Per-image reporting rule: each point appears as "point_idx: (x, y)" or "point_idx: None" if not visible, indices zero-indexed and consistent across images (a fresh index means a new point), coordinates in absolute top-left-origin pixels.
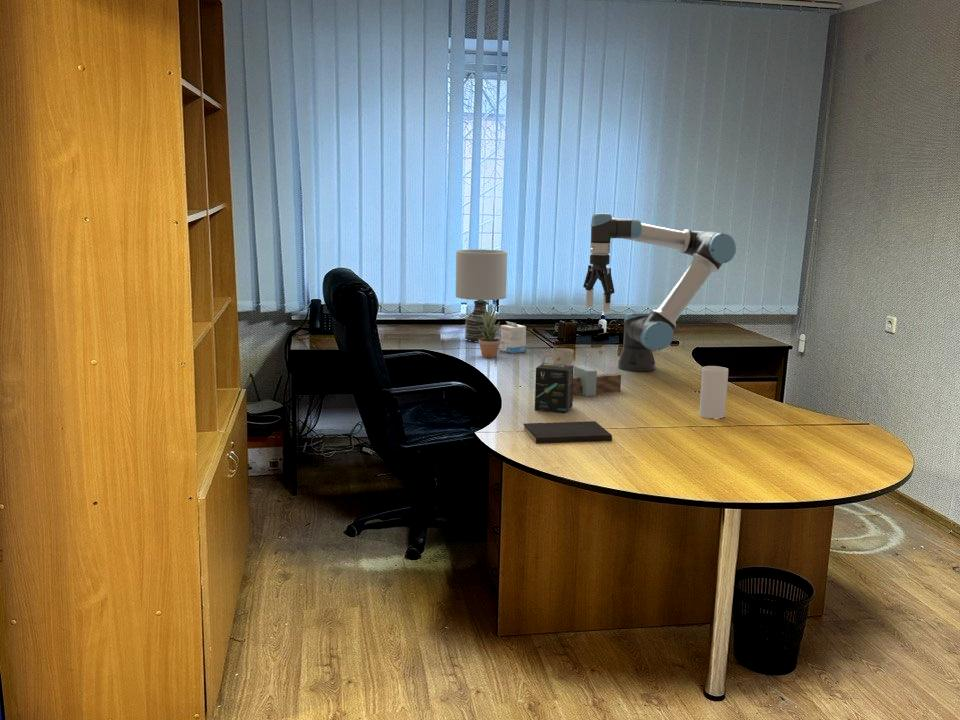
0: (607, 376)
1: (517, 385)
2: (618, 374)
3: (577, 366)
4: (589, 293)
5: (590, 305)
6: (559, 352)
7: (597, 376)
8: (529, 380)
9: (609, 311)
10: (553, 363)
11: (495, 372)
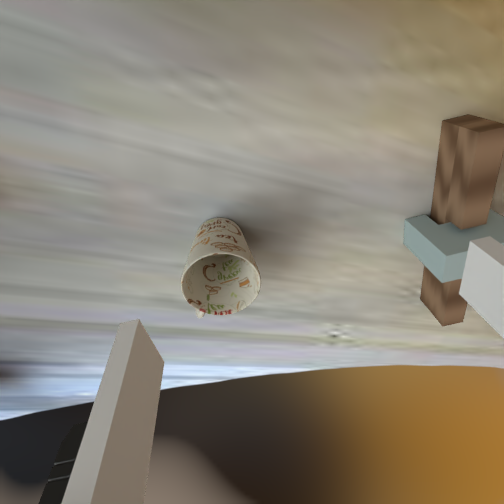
0: (495, 178)
1: (324, 339)
2: (497, 133)
3: (453, 275)
4: (126, 500)
5: (148, 347)
6: (254, 299)
7: (487, 212)
8: (279, 316)
9: (489, 240)
10: (216, 280)
11: (188, 367)
